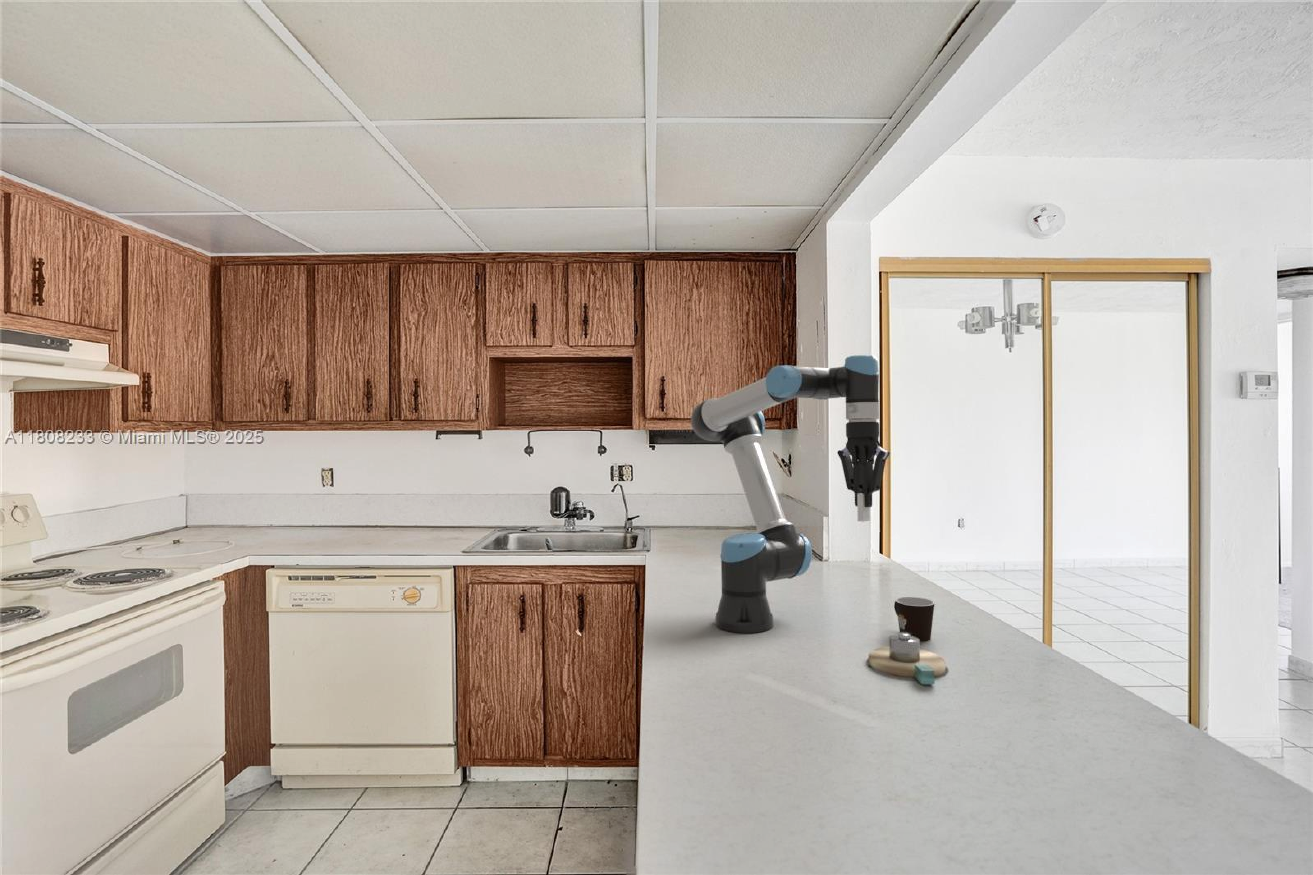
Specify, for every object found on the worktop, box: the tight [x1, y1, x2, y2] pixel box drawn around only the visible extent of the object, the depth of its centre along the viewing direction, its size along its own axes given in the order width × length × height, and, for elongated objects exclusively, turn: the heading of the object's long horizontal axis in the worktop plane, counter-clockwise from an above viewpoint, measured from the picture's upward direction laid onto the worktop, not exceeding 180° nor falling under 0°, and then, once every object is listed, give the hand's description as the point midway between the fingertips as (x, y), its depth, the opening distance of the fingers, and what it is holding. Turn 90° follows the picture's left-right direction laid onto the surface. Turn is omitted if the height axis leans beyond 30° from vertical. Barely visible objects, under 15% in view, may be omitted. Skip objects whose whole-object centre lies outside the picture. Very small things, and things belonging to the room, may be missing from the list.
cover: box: [888, 632, 921, 663], centre depth 136 cm, size 6×6×5 cm
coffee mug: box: [893, 596, 935, 643], centre depth 156 cm, size 12×9×10 cm
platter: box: [868, 646, 947, 685], centre depth 134 cm, size 19×15×3 cm
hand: (863, 520), depth 154 cm, fingers closed
